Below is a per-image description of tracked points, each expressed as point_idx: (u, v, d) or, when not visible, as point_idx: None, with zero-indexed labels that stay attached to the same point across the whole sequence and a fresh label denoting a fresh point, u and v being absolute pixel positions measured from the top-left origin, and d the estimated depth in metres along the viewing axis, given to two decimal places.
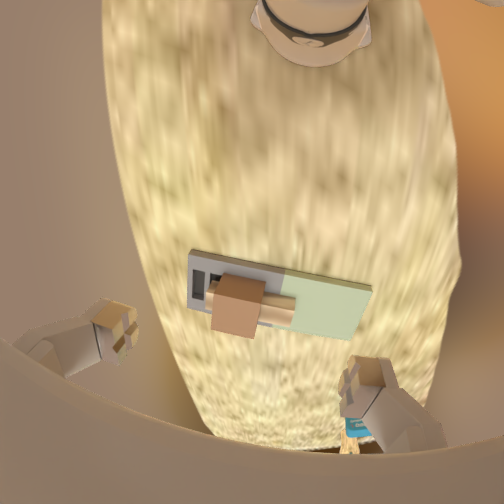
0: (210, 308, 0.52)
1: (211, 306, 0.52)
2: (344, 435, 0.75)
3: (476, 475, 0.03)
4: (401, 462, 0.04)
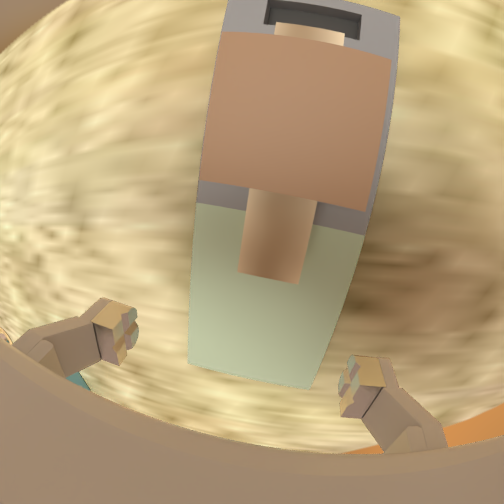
0: None
1: None
2: None
3: (476, 475, 0.03)
4: (401, 462, 0.04)
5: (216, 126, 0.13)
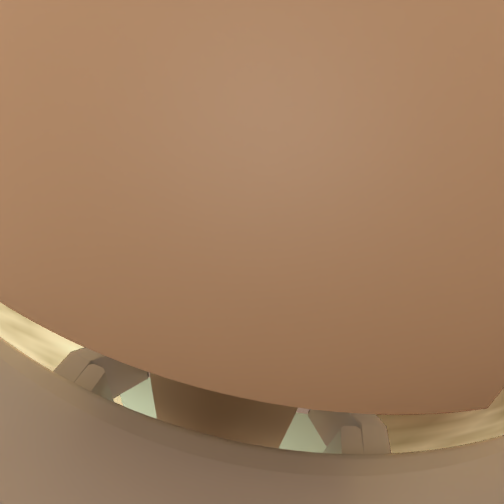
0: None
1: None
2: None
3: (476, 475, 0.03)
4: (401, 462, 0.04)
5: None
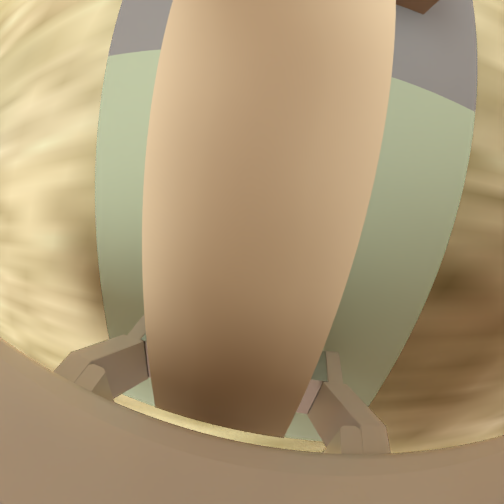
0: None
1: None
2: None
3: (476, 475, 0.03)
4: (401, 462, 0.04)
5: None
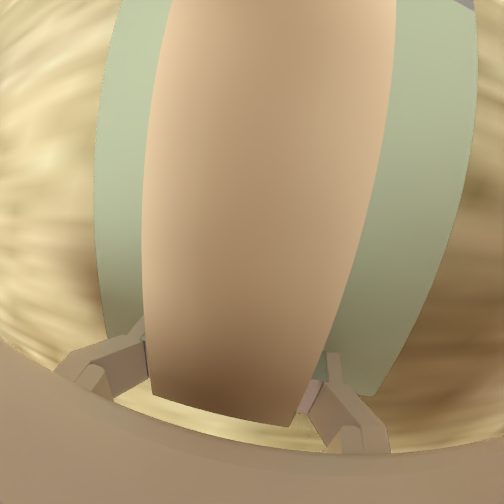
0: None
1: None
2: None
3: (476, 475, 0.03)
4: (401, 462, 0.04)
5: None
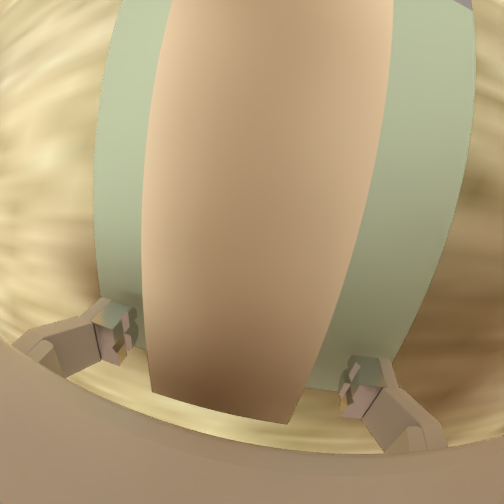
0: None
1: None
2: None
3: (476, 475, 0.03)
4: (401, 462, 0.04)
5: None
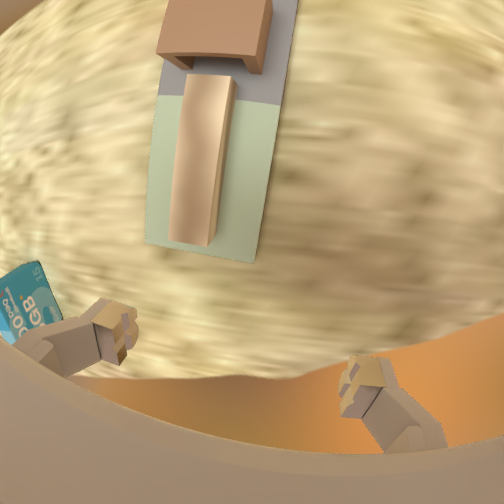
0: (189, 84, 0.22)
1: (195, 86, 0.22)
2: None
3: (476, 475, 0.03)
4: (401, 462, 0.04)
5: (167, 25, 0.17)
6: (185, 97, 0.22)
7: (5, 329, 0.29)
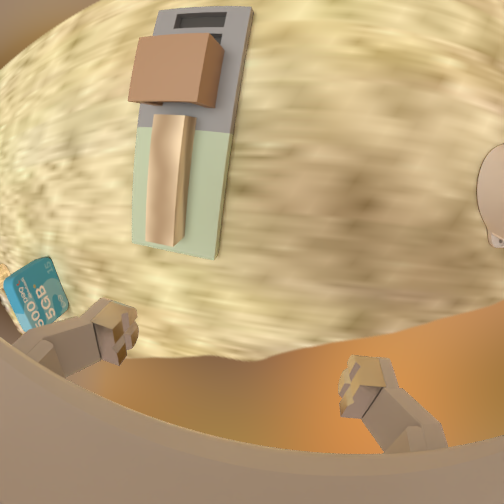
0: (156, 122, 0.29)
1: (159, 124, 0.30)
2: (0, 271, 0.50)
3: (476, 475, 0.03)
4: (401, 462, 0.04)
5: (135, 77, 0.25)
6: (153, 133, 0.30)
7: (20, 312, 0.39)
